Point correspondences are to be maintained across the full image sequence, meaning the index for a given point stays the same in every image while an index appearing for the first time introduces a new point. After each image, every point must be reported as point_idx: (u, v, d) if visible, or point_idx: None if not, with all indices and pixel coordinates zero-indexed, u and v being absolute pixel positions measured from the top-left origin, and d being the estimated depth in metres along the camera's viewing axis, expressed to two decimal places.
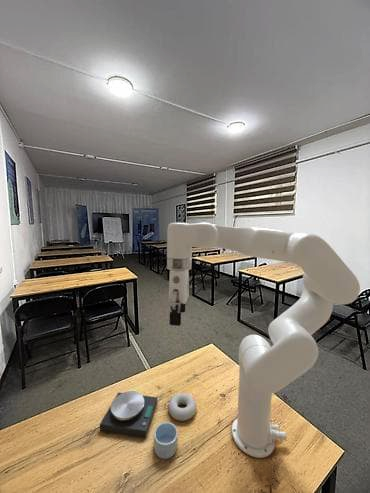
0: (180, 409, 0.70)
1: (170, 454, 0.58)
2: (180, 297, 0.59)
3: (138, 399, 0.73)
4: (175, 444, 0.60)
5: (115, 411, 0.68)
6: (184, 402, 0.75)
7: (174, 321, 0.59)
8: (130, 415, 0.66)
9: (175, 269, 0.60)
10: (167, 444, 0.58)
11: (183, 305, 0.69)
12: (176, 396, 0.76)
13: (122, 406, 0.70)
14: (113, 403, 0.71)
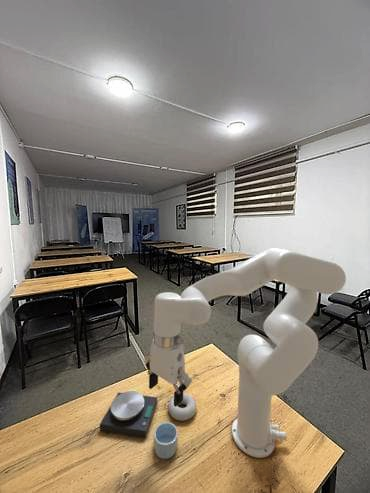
0: (180, 409, 0.70)
1: (170, 454, 0.58)
2: None
3: (138, 399, 0.73)
4: (175, 444, 0.60)
5: (115, 411, 0.68)
6: (184, 402, 0.75)
7: (181, 400, 0.57)
8: (130, 415, 0.66)
9: (175, 346, 0.56)
10: (167, 444, 0.58)
11: (157, 377, 0.64)
12: None
13: (122, 406, 0.70)
14: (113, 403, 0.71)
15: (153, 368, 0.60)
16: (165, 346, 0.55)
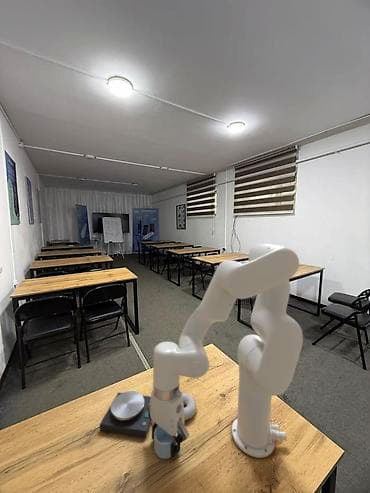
0: None
1: (170, 454, 0.58)
2: (182, 422, 0.59)
3: (138, 399, 0.73)
4: None
5: (115, 411, 0.68)
6: (184, 402, 0.75)
7: (178, 450, 0.58)
8: (130, 415, 0.66)
9: (175, 398, 0.57)
10: (167, 444, 0.58)
11: None
12: None
13: (122, 406, 0.70)
14: (113, 403, 0.71)
15: (153, 417, 0.61)
16: (164, 399, 0.56)
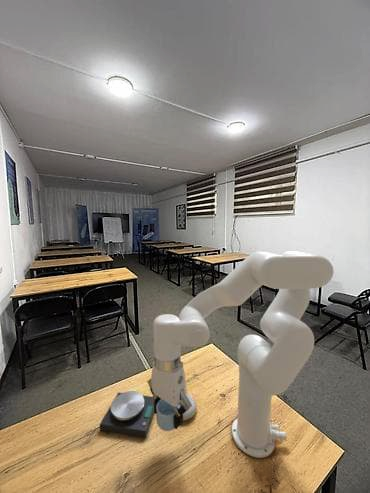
0: None
1: (173, 426, 0.58)
2: (184, 393, 0.58)
3: (138, 399, 0.73)
4: None
5: (115, 411, 0.68)
6: None
7: (181, 422, 0.58)
8: (130, 415, 0.66)
9: (176, 369, 0.57)
10: (169, 416, 0.57)
11: None
12: None
13: (122, 406, 0.70)
14: (113, 403, 0.71)
15: (155, 390, 0.60)
16: (166, 370, 0.56)
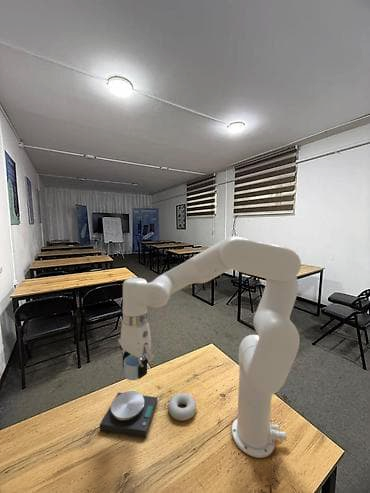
0: (180, 409, 0.70)
1: (137, 376, 0.65)
2: (149, 348, 0.65)
3: (138, 399, 0.73)
4: None
5: (115, 411, 0.68)
6: (184, 402, 0.75)
7: (144, 373, 0.65)
8: (130, 415, 0.66)
9: (141, 325, 0.64)
10: (134, 367, 0.64)
11: None
12: (176, 396, 0.76)
13: (122, 406, 0.70)
14: (113, 403, 0.71)
15: (123, 345, 0.67)
16: (131, 324, 0.63)
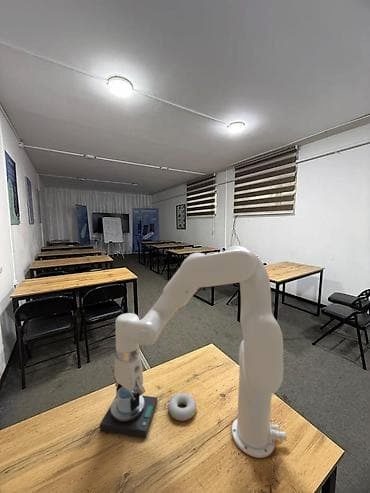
0: (180, 409, 0.70)
1: (130, 408, 0.68)
2: (141, 381, 0.68)
3: None
4: None
5: (115, 411, 0.68)
6: (184, 402, 0.75)
7: (136, 405, 0.68)
8: (130, 416, 0.66)
9: (133, 360, 0.67)
10: (127, 399, 0.67)
11: None
12: (176, 396, 0.76)
13: None
14: (113, 404, 0.71)
15: (117, 378, 0.70)
16: (124, 360, 0.66)
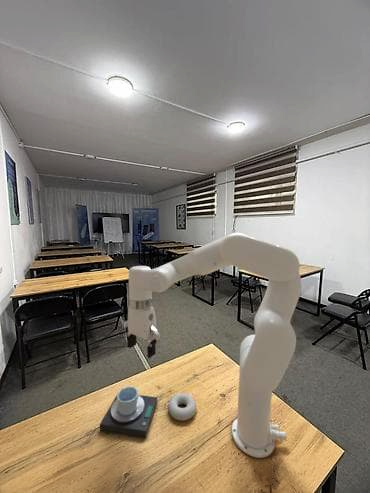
0: (180, 409, 0.70)
1: (130, 411, 0.68)
2: None
3: (138, 402, 0.73)
4: (135, 403, 0.69)
5: (115, 414, 0.68)
6: (184, 402, 0.75)
7: (153, 352, 0.69)
8: (130, 418, 0.67)
9: (147, 308, 0.69)
10: (127, 402, 0.67)
11: (135, 339, 0.76)
12: (176, 396, 0.76)
13: None
14: (113, 406, 0.71)
15: (130, 329, 0.72)
16: (138, 308, 0.67)
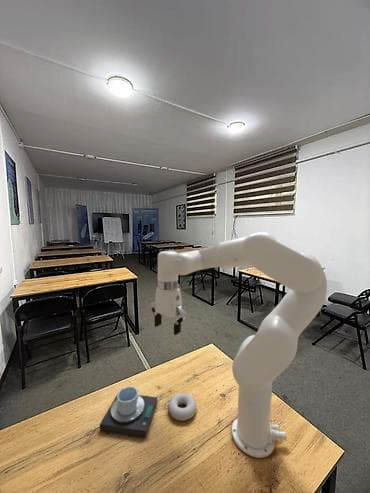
0: (180, 409, 0.70)
1: (130, 411, 0.68)
2: None
3: (138, 402, 0.73)
4: (135, 403, 0.69)
5: (115, 414, 0.68)
6: (184, 402, 0.75)
7: (179, 330, 0.75)
8: (130, 418, 0.67)
9: (174, 289, 0.75)
10: (127, 402, 0.67)
11: (160, 318, 0.82)
12: (176, 396, 0.76)
13: None
14: (113, 406, 0.71)
15: (157, 309, 0.78)
16: (166, 288, 0.74)
